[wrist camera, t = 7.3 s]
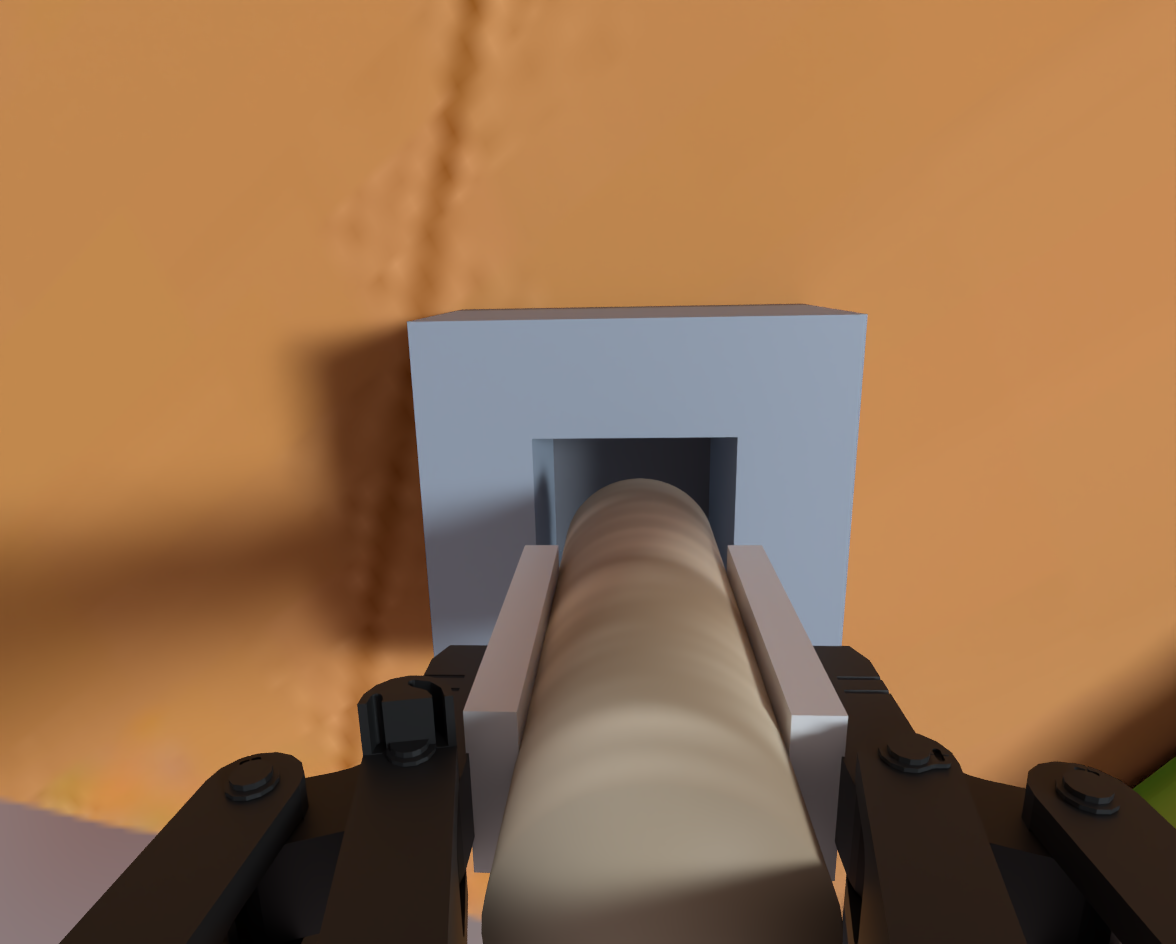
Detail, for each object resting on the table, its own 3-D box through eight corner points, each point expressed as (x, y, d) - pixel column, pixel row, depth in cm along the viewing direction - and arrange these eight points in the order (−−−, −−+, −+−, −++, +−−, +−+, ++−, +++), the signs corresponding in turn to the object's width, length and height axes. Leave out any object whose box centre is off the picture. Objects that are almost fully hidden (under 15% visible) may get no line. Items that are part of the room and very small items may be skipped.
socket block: (481, 616, 29) (439, 719, 23) (462, 309, 26) (406, 321, 19) (785, 617, 29) (835, 723, 22) (803, 303, 26) (867, 314, 19)
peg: (567, 617, 20) (490, 1068, 9) (563, 478, 19) (471, 780, 8) (712, 618, 20) (830, 1080, 9) (716, 478, 19) (856, 788, 8)
